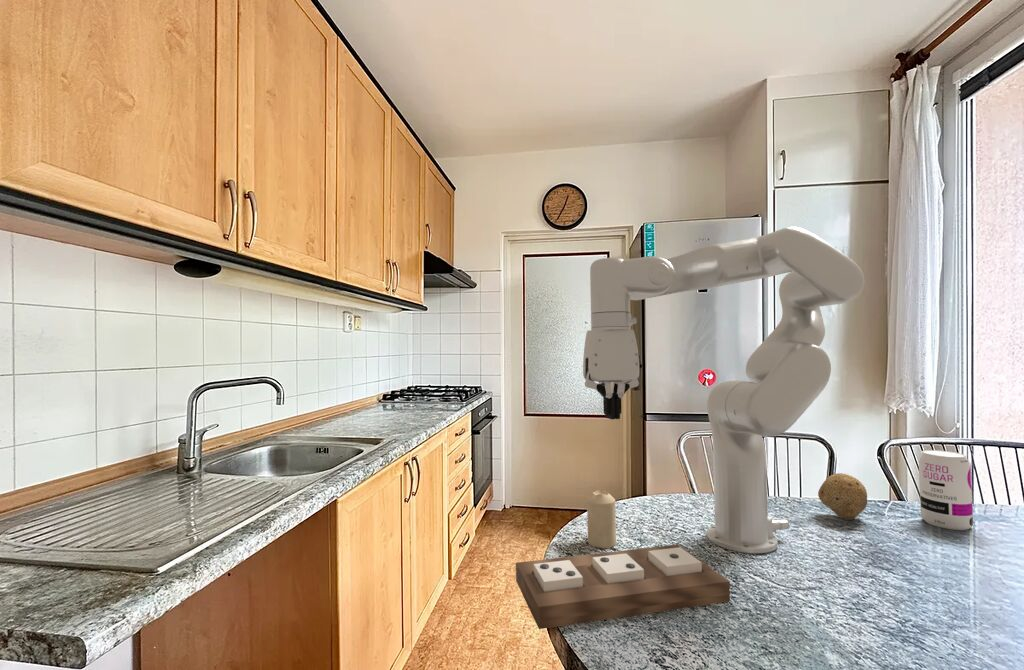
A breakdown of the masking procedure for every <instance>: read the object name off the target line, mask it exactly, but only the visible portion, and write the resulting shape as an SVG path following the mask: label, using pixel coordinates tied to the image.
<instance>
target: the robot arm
mask: <svg viewBox="0 0 1024 670" xmlns="http://www.w3.org/2000/svg"><path fill="white" fill-rule="evenodd" d="M784 274H786V275H785V276H784V277H783V278H782V279H781V280H780V283H779V289H778V294H779V295H778V296H779V299H780V304H781V310H782V312H781V313H782V315H781V320H780V321H779V322H778V324H777V325H776V327H775V328H774V329H773V330H772V332H770V334H768V336H767V337H765V339H764V340H763V341H762V343H761V344H760V345H759V346H758V347H757V348H756V349H755V350H754V352H752V354H751V355H750V356H749V358H748V359H747V361H746V365H745V373H746V376H747V378H748V379H749V381H744V380H727V381H723V382H720V383H719V384H717V385H715V386H714V387H713V388H712V390H711V391H710V392H709V395H708V397H707V404H706V405H707V407H706V409H707V415H708V416H707V417H708V420H709V424H710V430H711V438H712V453H713V454H712V455H713V461H712V462H713V463H712V464H713V494H714V497H713V498H714V500H713V501H714V524H713V525H711V526H709V527H708V528H707V529H706V536H707V539H708V540H709V541H710V542H711V543H713V544H715V545H716V546H719V547H720V548H723V549H727V550H730V551H733V552H738V553H745V554H746V553H747V554H766V553H771V552H774V551H775V550H777V549H778V547H779V545H778V544H779V542H778V538H777V537H776V536H775V535H774V533H775V532H776V531H784V530H785V531H786V530H789V528H790V523H789V521H788V520H787V519H785V518H781V519H775V520H774V519H773V517H772V516H769V514H768V513H769V511H768V509H769V508H768V507H769V506H768V483H767V482H768V479H767V478H768V477H767V476H768V475H767V473H768V472H767V451H766V445H765V441H764V439H763V437H776V436H778V435H782V434H784V433H785V432H787V431H788V430H789V429H791V427H793V425H794V424H796V422H797V421H798V420H799V419H800V418H801V416H802V415H803V414H804V413H805V412H806V411H807V409H809V408H810V406H811V405H812V404H814V401H816V399H817V398H818V397H819V396H820V395H821V394H822V392H823V391H824V389H826V386H827V385H828V382H829V380H830V377H831V372H832V366H831V365H832V364H831V361H830V358H829V356H828V354H827V352H826V351H825V350H824V349H823V348H821V344H822V343H823V341H824V339H825V335H826V329H825V324H824V322H825V321H824V319H823V318H824V317H823V315H822V310H821V308H820V307H825V306H826V307H827V306H834V305H842V304H846V303H849V302H852V301H854V300H855V299H857V298H858V297H859V296H860V295H861V293H862V292H863V290H864V287H865V282H866V281H865V275H864V272H863V271H862V269H861V267H860V266H859V265H858V264H857V263H856V261H854V260H853V259H852V258H850V257H848V256H847V255H846V254H845V253H843V252H841V251H840V250H839V249H837V248H835V246H832V244H830V243H828V242H827V241H825V240H824V239H823V238H821V237H819V236H818V235H816V234H815V233H812V232H810V231H808V230H806V229H804V228H802V227H797V226H787V227H783V228H781V229H778V230H775V231H773V232H770V233H769V232H768V233H766V234H764V235H760V236H754V237H750V238H749V237H747V238H744V239H739V240H737V239H736V240H733V241H728V242H727V241H726V242H720V243H714V244H709V245H705V246H702V247H698V248H696V249H694V250H690V251H689V252H688V251H687V252H686V253H682V254H679V255H677V256H673V257H670V258H666V259H665V258H663V257H661V256H657V255H656V256H655V255H652V256H650V255H649V256H643V257H635V258H626V259H625V258H621V257H605V258H598V259H596V260H594V261H592V263H591V264H590V268H589V277H590V278H589V279H590V281H589V283H590V284H589V286H590V287H589V288H590V324H591V325H590V330H587V331H586V333H585V339H584V340H585V341H584V348H583V361H582V376H583V379H584V380H585V381H584V386H585V388H588V389H592V390H595V391H597V393H599V394H600V396H601V397H602V399H603V403H602V404H603V414H604V415H605V418H606V419H610V420H620V419H621V414H622V398H623V397H625V394H626V393H627V391H628V390H629V389H632V388H637V387H638V386H639V385H640V382H639V378H640V377H639V376H640V358H639V357H640V356H639V349H638V342H637V338H636V334H635V330H634V329H632V326H633V325H636V324H637V322H638V319H637V317H636V316H634V317H633V316H632V313H631V301H641V300H645V299H651V298H656V297H661V296H668V295H672V294H676V293H677V294H678V293H685V292H689V291H690V292H691V291H693V292H694V291H700V290H707V289H708V290H709V289H712V288H718V287H723V286H727V285H729V286H730V285H734V284H739V283H743V282H744V283H745V282H750V281H755V280H761V279H764V278H770V277H774V276H778V275H784ZM612 382H613V383H612ZM611 383H612V385H611Z"/></svg>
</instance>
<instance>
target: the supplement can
mask: <svg viewBox="0 0 1024 670" xmlns="http://www.w3.org/2000/svg"><path fill="white" fill-rule="evenodd" d="M971 465H972V464H971V462H970V461H969V459H968V458H967V455H966V454H964V453H961V452H954V451H947V450H940V449H939V450H938V449H937V450H935V449H926V450H922V451H921V454H920V455H919V457H918V476H919V477H918V478H919V497H920V498H919V502H920V517H921V518H922V520H924V522H925V523H927V524H929V525H931V526H933V527H934V526H935V527H937V528H942V529H947V530H954V531H967V530H969V529H971V528H973V527H974V512H973V511H974V510H973V491H972V490H973V489H972V488H973V487H972V466H971Z"/></svg>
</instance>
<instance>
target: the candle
mask: <svg viewBox="0 0 1024 670" xmlns="http://www.w3.org/2000/svg"><path fill="white" fill-rule="evenodd" d="M586 505H587V506H586V509H587V511H586V512H587V515H586V517H587V543H588V545H590V546H592V547H594V548H597V549H610V548H614V547H615V546H616V544H617V522H616V521H617V520H616V517H617V516H616V499H615V498H614V497H613V495H611V494H610V493H609V492H607V491H606V490H605V489H603V490H595V491H594V492H593V491H592V493H590V495H588V496H587V498H586Z"/></svg>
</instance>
